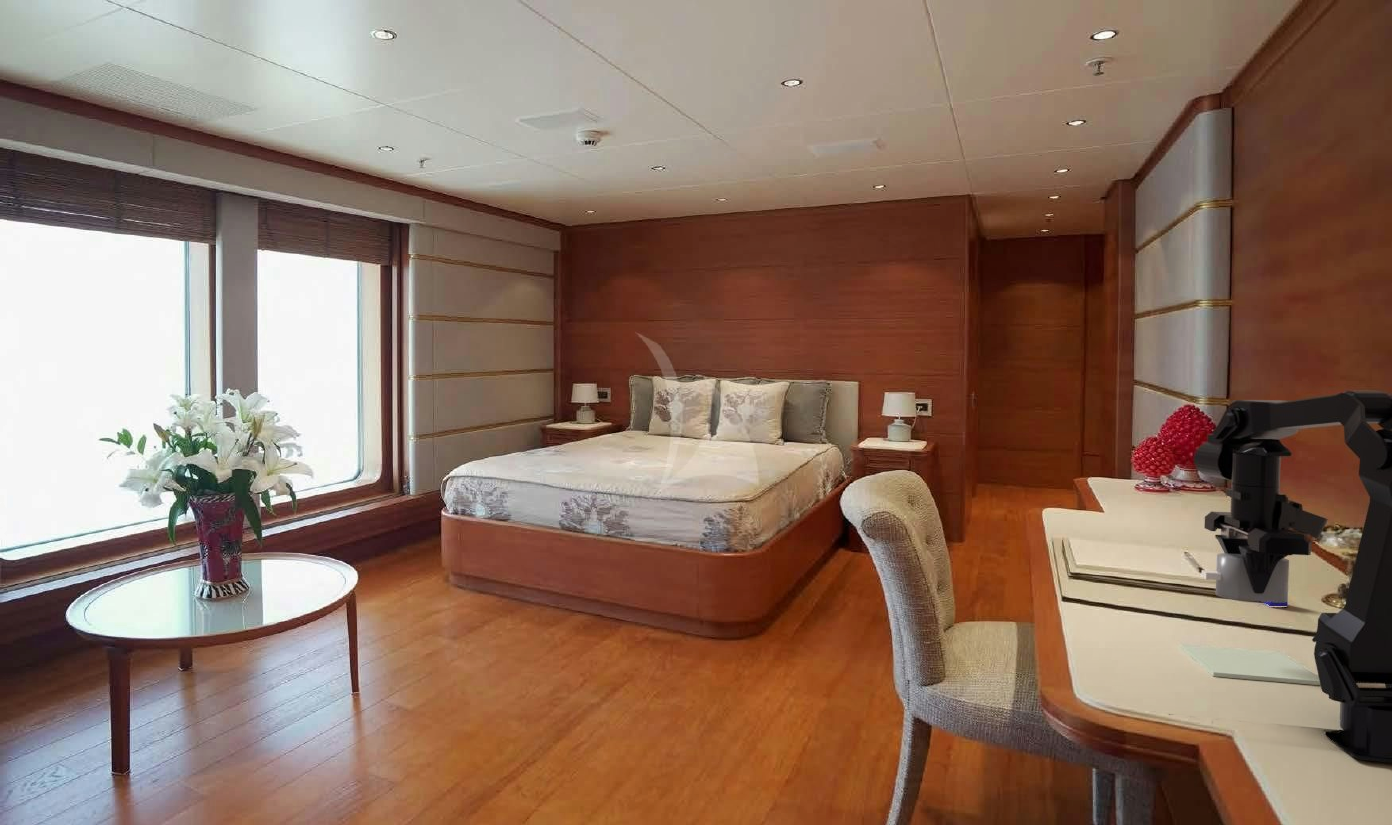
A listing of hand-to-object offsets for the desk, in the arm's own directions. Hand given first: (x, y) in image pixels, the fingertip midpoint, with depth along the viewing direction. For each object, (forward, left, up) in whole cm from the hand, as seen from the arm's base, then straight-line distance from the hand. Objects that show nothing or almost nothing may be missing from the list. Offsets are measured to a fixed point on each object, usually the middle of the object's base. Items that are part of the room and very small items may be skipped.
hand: (1251, 589), depth 112 cm
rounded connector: (0, 0, -1) cm, 1 cm away
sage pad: (0, 0, -12) cm, 12 cm away
